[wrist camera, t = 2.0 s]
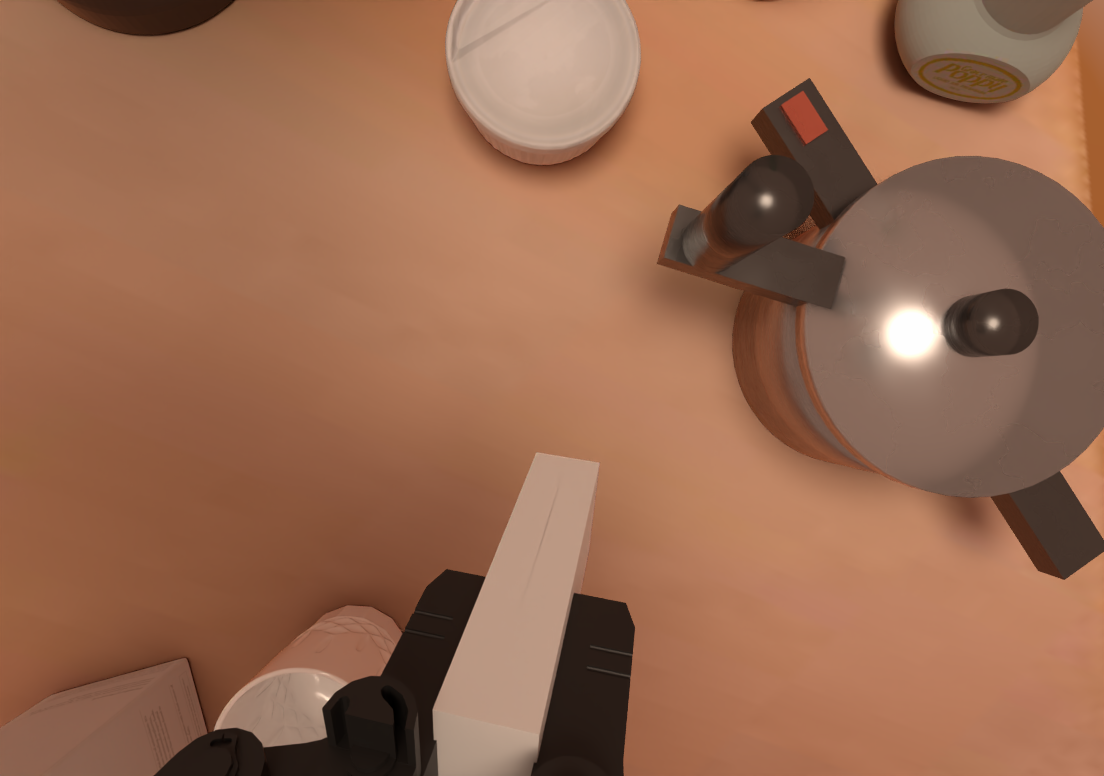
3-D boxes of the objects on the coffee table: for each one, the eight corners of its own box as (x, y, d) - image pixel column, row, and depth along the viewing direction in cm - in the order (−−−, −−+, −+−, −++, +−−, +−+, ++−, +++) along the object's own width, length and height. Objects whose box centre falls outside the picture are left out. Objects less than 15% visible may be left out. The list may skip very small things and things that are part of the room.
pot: (1062, 461, 40) (1219, 481, 31) (872, 595, 39) (977, 655, 30) (827, 92, 39) (918, 4, 30) (629, 221, 39) (662, 170, 30)
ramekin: (498, -21, 38) (495, -86, 33) (653, 56, 39) (674, 4, 34) (425, 134, 38) (410, 93, 33) (582, 209, 39) (592, 181, 33)
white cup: (442, 671, 38) (414, 772, 28) (337, 743, 37) (271, 871, 28) (372, 570, 38) (320, 635, 28) (267, 641, 37) (175, 733, 27)
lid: (1144, 222, 31) (1380, 158, 22) (1059, 531, 30) (1266, 585, 22) (710, 79, 29) (787, -46, 21) (616, 399, 29) (656, 403, 21)
